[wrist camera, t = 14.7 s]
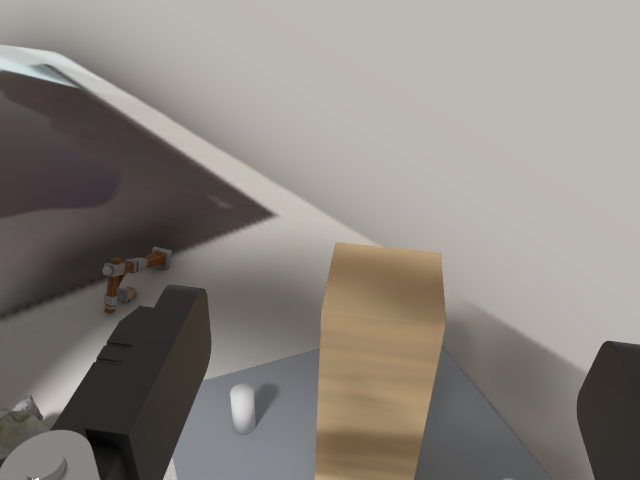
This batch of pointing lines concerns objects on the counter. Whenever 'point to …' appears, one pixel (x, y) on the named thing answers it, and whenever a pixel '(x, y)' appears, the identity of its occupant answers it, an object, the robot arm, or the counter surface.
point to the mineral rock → (19, 425)
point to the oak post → (377, 361)
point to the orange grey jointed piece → (119, 269)
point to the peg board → (301, 425)
